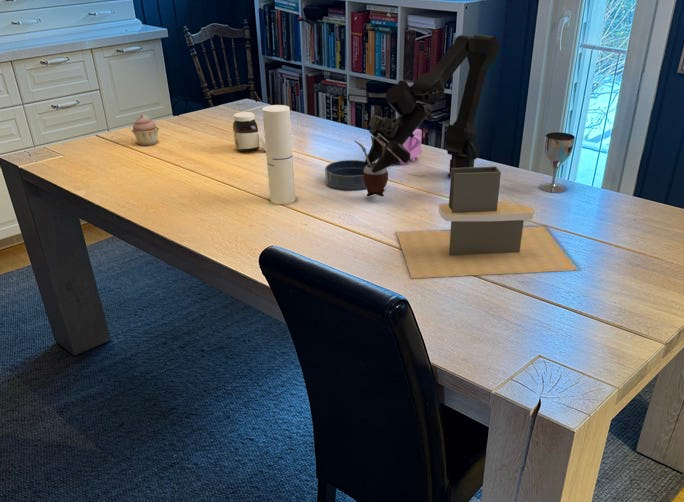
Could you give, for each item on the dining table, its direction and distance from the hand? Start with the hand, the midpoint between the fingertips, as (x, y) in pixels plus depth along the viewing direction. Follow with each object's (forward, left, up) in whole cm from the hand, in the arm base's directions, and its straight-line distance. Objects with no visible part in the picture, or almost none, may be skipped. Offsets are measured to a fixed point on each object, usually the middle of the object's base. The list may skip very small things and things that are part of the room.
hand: (368, 168), depth 186 cm
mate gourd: (-1, -1, -8) cm, 8 cm away
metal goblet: (-38, -39, -9) cm, 55 cm away
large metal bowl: (+13, -9, -9) cm, 18 cm away
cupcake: (+96, +1, -9) cm, 96 cm away
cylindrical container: (+20, +14, -9) cm, 26 cm away
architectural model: (-42, +11, -9) cm, 45 cm away
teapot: (+13, -35, -9) cm, 38 cm away
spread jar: (+60, -15, -9) cm, 62 cm away
